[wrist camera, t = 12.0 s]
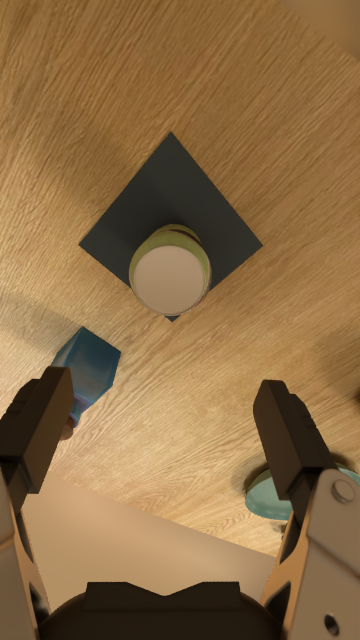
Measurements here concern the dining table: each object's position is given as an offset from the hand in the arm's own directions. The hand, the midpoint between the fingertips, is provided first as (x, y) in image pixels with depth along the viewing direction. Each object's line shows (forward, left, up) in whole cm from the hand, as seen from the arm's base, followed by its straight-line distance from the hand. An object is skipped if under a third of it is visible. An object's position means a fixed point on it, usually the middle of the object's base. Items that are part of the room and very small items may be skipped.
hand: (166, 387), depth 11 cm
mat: (0, 0, -20) cm, 20 cm away
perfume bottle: (+16, -10, -20) cm, 28 cm away
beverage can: (0, 0, -20) cm, 20 cm away
